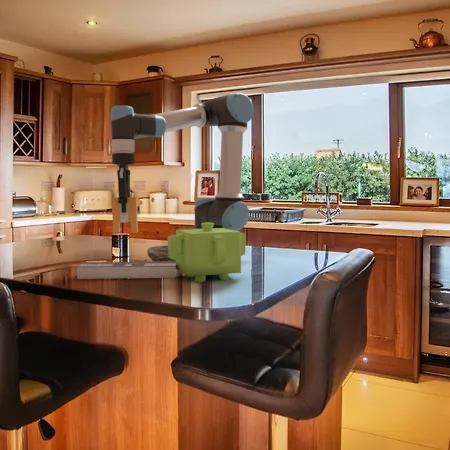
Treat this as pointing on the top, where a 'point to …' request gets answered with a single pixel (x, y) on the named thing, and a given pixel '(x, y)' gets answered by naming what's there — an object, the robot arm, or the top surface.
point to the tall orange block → (131, 210)
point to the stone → (159, 254)
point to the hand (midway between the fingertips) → (125, 221)
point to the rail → (126, 270)
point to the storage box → (207, 251)
